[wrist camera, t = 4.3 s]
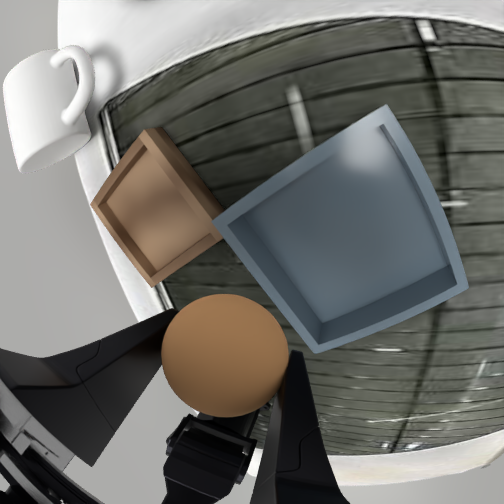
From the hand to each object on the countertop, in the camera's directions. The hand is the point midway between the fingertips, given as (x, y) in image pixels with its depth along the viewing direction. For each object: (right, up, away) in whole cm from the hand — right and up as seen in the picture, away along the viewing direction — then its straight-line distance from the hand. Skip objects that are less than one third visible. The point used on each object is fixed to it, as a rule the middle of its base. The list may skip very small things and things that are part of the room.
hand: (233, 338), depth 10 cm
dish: (+8, +5, +9) cm, 12 cm away
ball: (0, 0, -1) cm, 1 cm away
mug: (-16, +19, +10) cm, 27 cm away
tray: (-7, +7, +13) cm, 16 cm away
